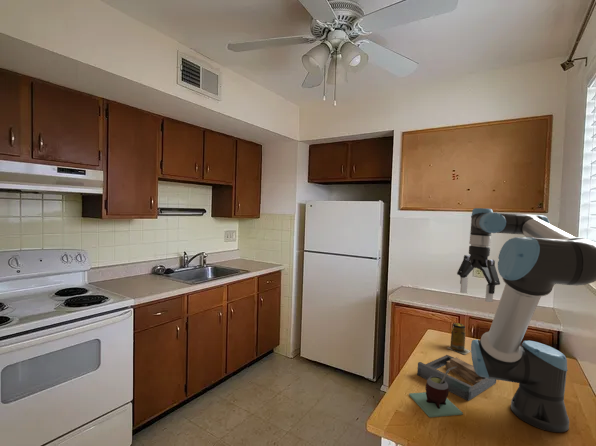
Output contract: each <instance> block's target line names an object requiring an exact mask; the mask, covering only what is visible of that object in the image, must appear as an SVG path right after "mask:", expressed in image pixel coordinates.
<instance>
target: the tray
mask: <svg viewBox="0 0 596 446" xmlns="http://www.w3.org/2000/svg"><path fill="white" fill-rule="evenodd" d="M451 358H455V357H453V356H450V355H449V354H446V355H443V356H441V357H438V358H436V359H434V360H432V361H430V362H427V363H424V362H421V361H419V362H417V373H416V374H417V376H419V377H420V378H422V379H424V380H426V381H427V379H428V378H429V377H431V376H438V377H441V378H443V377H444V375H445V373H446V372H443V371H441V370H439V368H442V367H444V366H446V365H447V361H450V359H451ZM471 365H472V366H473V364H471ZM482 379H483V380H481V381H480V382H478V383H477V384H473V385H471V384H468V383H467V382H464V381H462V380H460V379H458V378H455V377H453V376H451V375H449V374H447V375H446V377H445V379H444V380H445V381H446V382H447V384H448V388H449V392H450V393H452V394H453V395H456V396H458V397H460V398H461V399H463V400H465V401H467V402H469V401H471V400H472V399H474V398H475V397H477V396H479V395H480V394H482V393H484V392H485V391H486V390H488V389H489V388H491V387H492V386H494V385H495V384H497V380H495V379H488V378H485V377H482ZM449 392H448V393H449Z"/></svg>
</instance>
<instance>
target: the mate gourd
mask: <svg viewBox="0 0 596 446" xmlns="http://www.w3.org/2000/svg"><path fill="white" fill-rule="evenodd" d="M456 367H457V366H456ZM456 367H452V368H449V369H447V368H446V371H445V372H444V373H445V375H444V377H443V378H441V377H438V376H431V377H429V378H428V379H427V380H426V384H425V392H426V396H427V400H426V402H427V403H435V404H436V406H437V408H438V409H440V406H439V405H440V404H444V405H446V402H445V401H446V399H448V396H449V388H448V384H447V382H446V381H445V380H444V379H445V377H446V375H449V372H450V370H451V369H454V368H456Z"/></svg>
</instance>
